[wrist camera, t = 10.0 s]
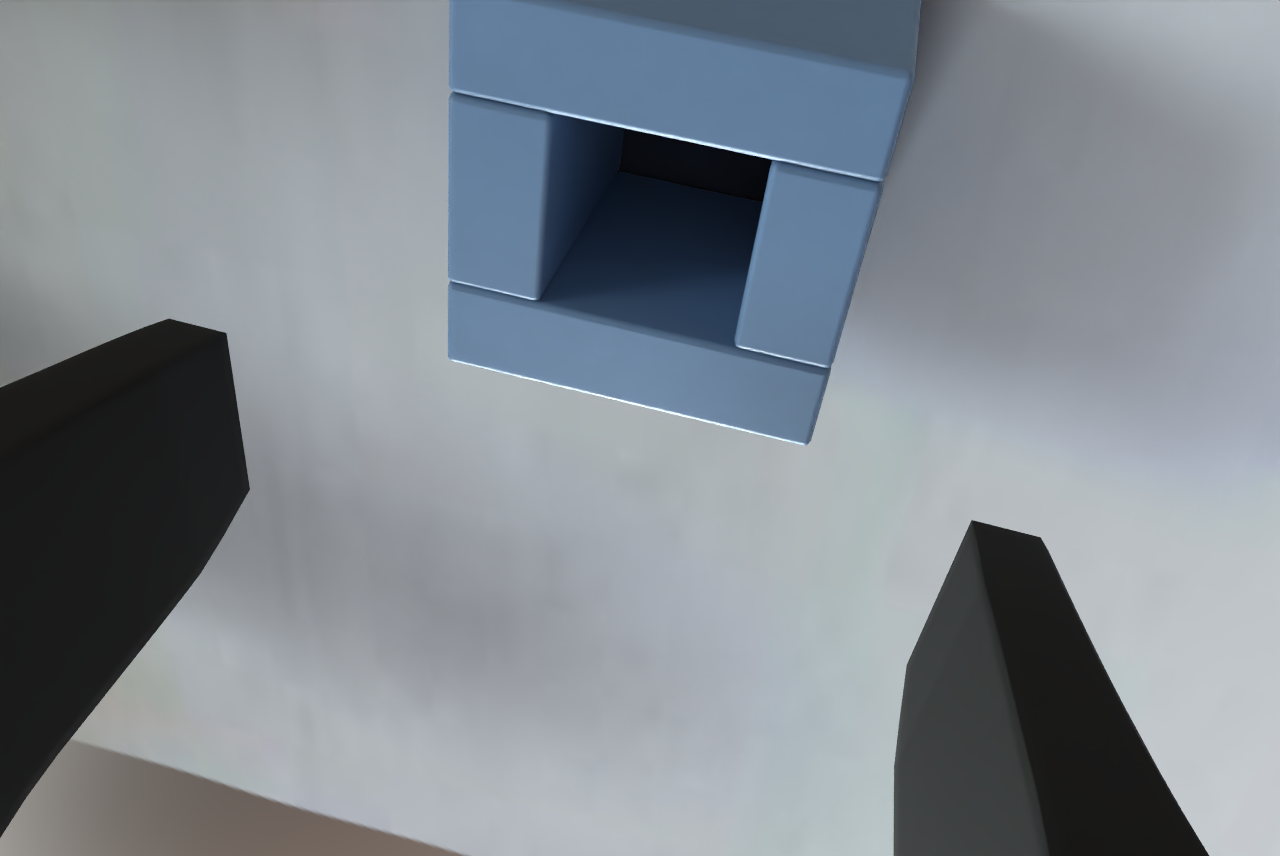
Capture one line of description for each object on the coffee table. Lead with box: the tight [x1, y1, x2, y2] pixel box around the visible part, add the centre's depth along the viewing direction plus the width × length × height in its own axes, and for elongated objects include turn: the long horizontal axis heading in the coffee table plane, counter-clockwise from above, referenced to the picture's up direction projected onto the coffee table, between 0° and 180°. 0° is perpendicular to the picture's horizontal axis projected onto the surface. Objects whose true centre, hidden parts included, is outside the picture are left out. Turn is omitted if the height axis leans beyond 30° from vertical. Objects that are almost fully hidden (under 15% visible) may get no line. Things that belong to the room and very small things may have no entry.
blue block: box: [448, 0, 921, 445], centre depth 15 cm, size 5×5×4 cm
